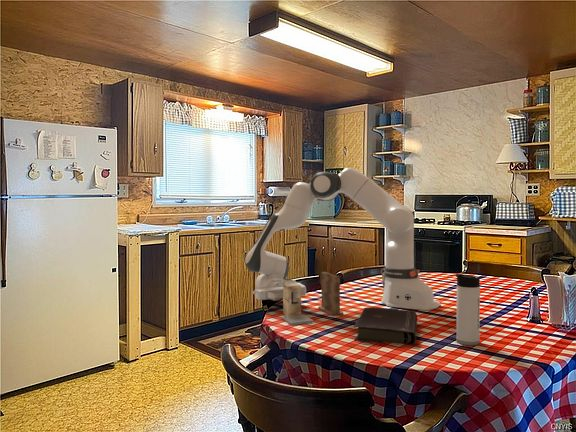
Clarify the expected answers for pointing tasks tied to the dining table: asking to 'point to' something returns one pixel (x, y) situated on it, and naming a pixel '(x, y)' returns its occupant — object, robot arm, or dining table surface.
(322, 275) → the screen
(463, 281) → the travel mug
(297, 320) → the slate coaster
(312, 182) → the robot arm
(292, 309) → the tan boxy piece
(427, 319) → the dining table surface
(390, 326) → the diary
